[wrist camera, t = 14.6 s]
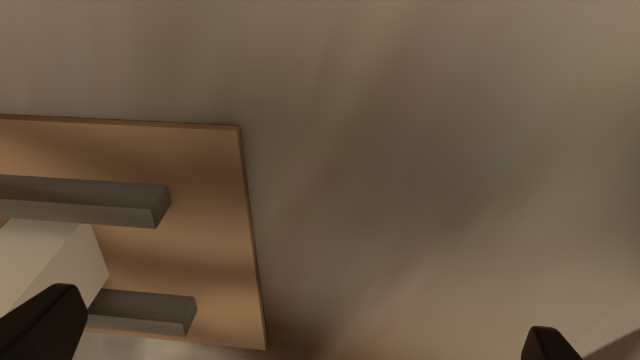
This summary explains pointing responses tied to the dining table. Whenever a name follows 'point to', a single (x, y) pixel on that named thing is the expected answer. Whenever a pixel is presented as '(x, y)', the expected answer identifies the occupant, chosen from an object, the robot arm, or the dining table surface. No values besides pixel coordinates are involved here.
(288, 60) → the dining table surface
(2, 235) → the cream square-faced block
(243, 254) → the brown flat board
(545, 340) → the robot arm
